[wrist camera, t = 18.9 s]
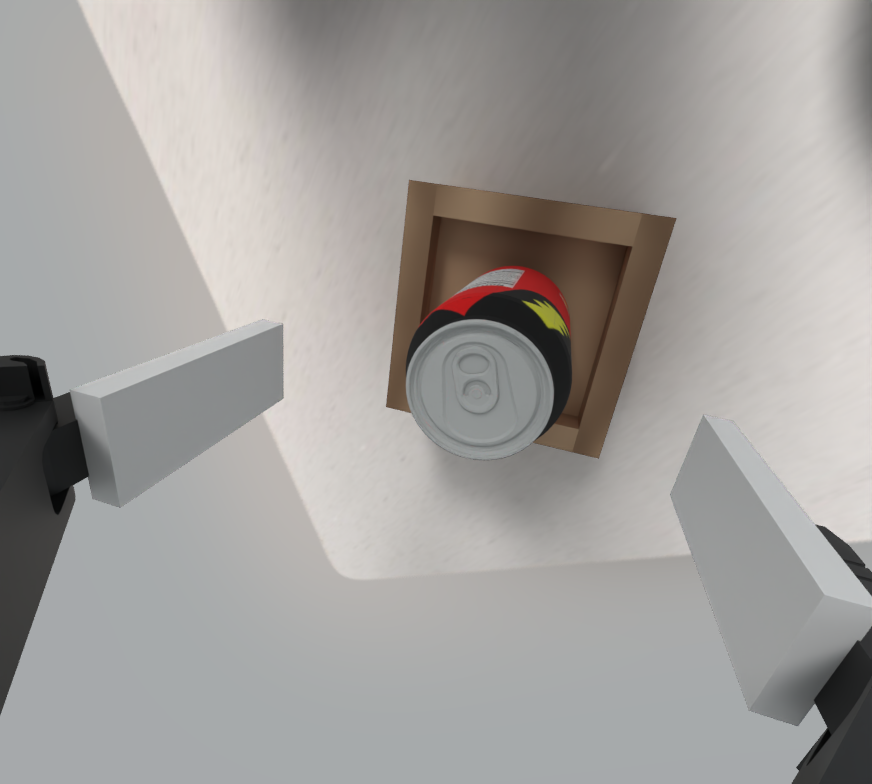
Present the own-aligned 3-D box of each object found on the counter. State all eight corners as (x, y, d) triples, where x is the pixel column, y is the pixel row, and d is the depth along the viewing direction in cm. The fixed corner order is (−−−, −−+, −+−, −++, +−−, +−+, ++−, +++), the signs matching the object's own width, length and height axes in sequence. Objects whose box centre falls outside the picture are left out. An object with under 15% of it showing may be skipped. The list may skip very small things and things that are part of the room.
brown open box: (421, 368, 36) (386, 407, 28) (445, 187, 30) (409, 179, 23) (591, 406, 33) (598, 458, 26) (648, 216, 28) (676, 218, 21)
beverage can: (466, 374, 28) (404, 474, 17) (453, 270, 26) (374, 311, 15) (572, 368, 26) (576, 476, 16) (567, 256, 24) (568, 291, 14)
